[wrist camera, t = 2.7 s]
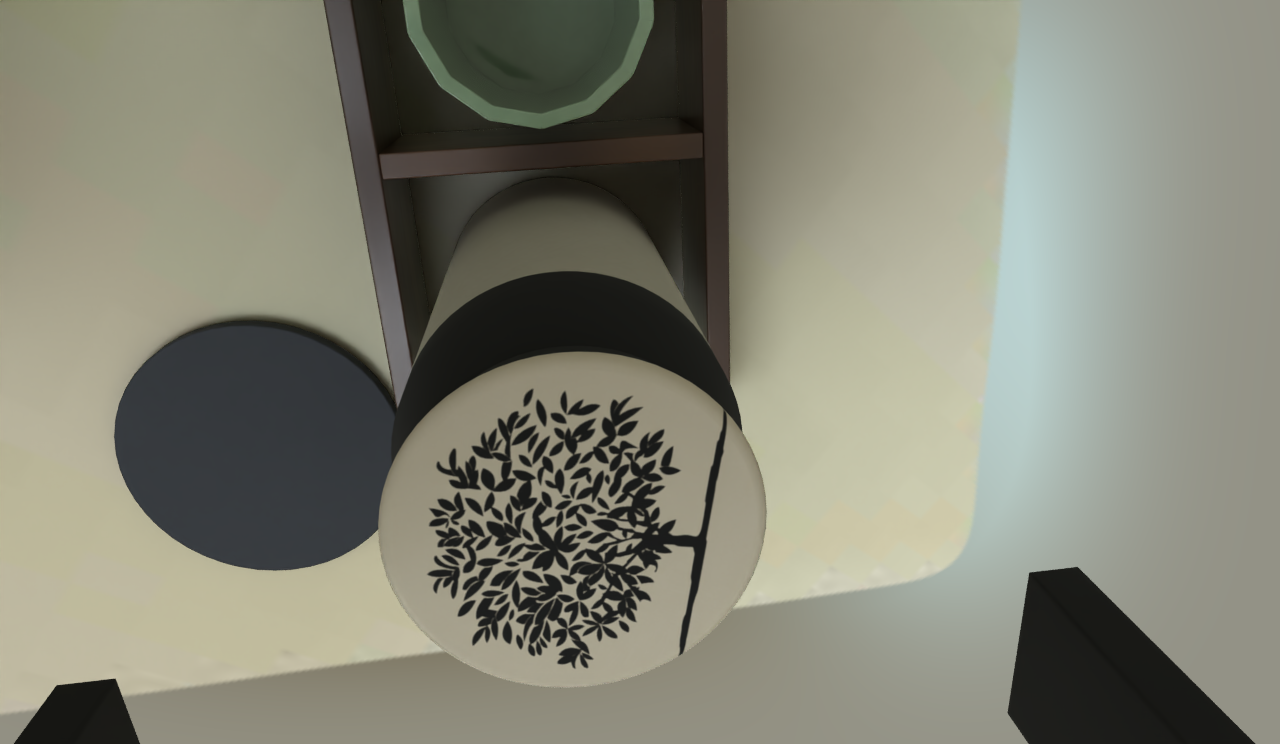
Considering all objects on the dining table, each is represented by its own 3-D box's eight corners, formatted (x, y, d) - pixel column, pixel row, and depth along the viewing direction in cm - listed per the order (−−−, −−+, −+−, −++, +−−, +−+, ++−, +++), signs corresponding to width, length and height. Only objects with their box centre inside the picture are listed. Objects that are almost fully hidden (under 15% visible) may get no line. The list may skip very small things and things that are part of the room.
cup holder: (427, 427, 34) (410, 488, 30) (331, -152, 26) (288, -189, 22) (705, 400, 35) (731, 456, 31) (693, -164, 27) (725, -203, 23)
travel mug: (433, 350, 33) (332, 673, 16) (475, 150, 30) (404, 298, 14) (626, 391, 35) (710, 723, 18) (682, 206, 32) (840, 397, 15)
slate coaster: (163, 576, 35) (157, 585, 35) (83, 332, 31) (75, 338, 31) (425, 547, 36) (424, 556, 36) (383, 308, 32) (381, 313, 32)
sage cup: (449, 110, 30) (422, 136, 22) (422, -100, 27) (380, -147, 20) (628, 98, 30) (658, 121, 23) (617, -108, 28) (647, -156, 20)
